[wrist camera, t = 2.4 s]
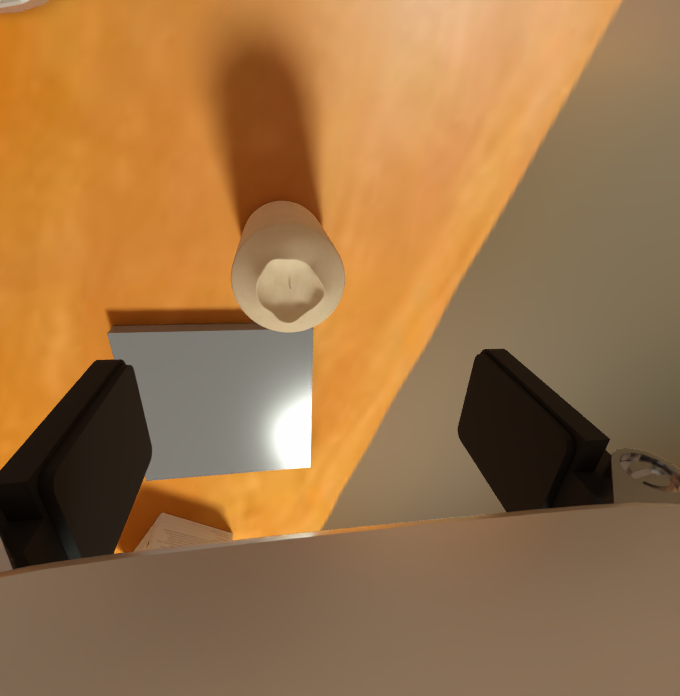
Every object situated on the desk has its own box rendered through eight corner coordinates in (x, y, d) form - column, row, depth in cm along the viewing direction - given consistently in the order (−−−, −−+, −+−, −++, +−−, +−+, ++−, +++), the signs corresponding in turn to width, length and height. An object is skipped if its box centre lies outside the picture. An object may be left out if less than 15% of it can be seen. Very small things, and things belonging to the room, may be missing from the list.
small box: (160, 509, 36) (144, 561, 31) (234, 531, 39) (230, 581, 34) (126, 557, 38) (107, 611, 34) (199, 574, 41) (190, 626, 37)
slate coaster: (113, 325, 26) (107, 333, 25) (311, 321, 29) (313, 328, 28) (150, 470, 33) (146, 480, 32) (309, 457, 35) (310, 467, 34)
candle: (330, 208, 25) (362, 241, 16) (316, 285, 28) (338, 350, 19) (246, 191, 24) (232, 219, 15) (239, 275, 26) (224, 339, 18)
